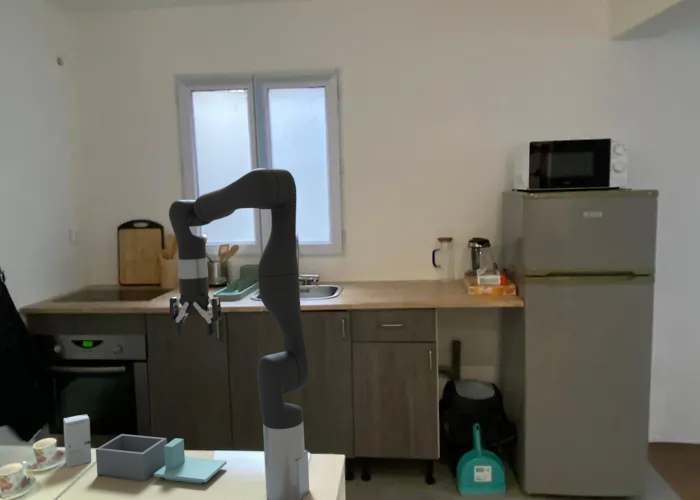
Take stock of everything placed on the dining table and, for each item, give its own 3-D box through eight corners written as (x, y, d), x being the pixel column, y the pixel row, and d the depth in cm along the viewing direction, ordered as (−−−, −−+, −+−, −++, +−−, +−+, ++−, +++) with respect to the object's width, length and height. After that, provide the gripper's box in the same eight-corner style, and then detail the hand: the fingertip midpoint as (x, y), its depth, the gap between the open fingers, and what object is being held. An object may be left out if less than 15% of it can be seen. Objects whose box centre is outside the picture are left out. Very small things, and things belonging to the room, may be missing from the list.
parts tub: (168, 464, 153) (166, 438, 152) (144, 481, 143) (142, 454, 143) (123, 459, 157) (121, 434, 156) (97, 475, 147) (95, 449, 147)
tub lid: (226, 467, 149) (225, 438, 149) (206, 487, 139) (204, 455, 139) (178, 462, 153) (176, 433, 153) (154, 481, 143) (152, 450, 143)
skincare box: (67, 468, 152) (64, 423, 152) (65, 462, 156) (62, 418, 155) (92, 461, 156) (89, 417, 155) (89, 456, 160) (86, 413, 159)
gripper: (224, 274, 154) (227, 334, 155) (177, 274, 158) (181, 332, 159) (210, 277, 147) (213, 340, 148) (161, 277, 151) (165, 338, 152)
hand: (196, 336), depth 154 cm, fingers open, 8 cm apart
